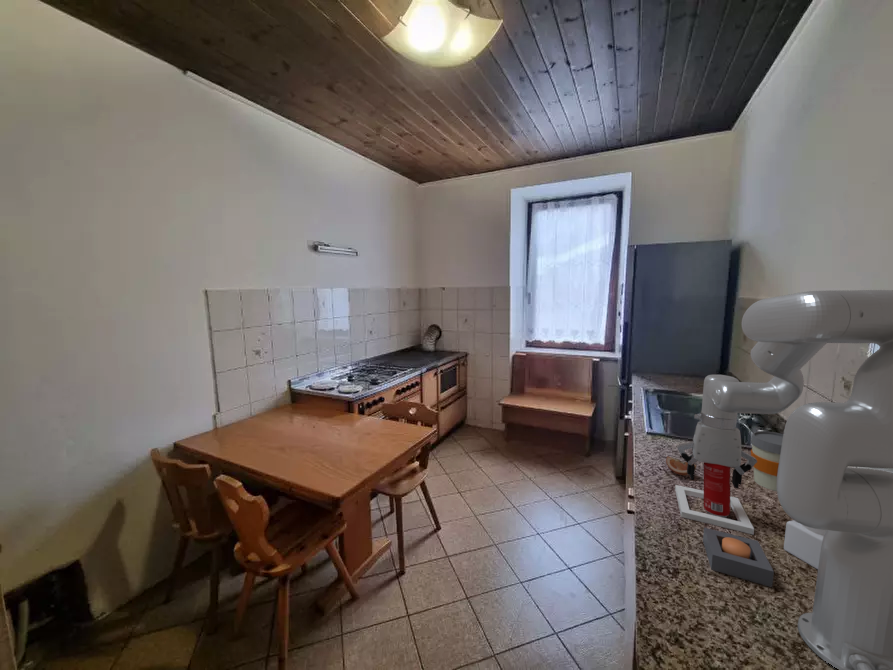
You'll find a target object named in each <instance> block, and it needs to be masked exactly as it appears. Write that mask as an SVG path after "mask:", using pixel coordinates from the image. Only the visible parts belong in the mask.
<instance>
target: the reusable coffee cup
mask: <svg viewBox="0 0 893 670" xmlns="http://www.w3.org/2000/svg"><path fill="white" fill-rule="evenodd" d="M783 434H784V433H779V432H774V431H767V430H764V431H763V430H759V431H754V432H752V433H751V439H750V444H751V447H752V448H751V449H750V455H751V456H753V457H754V458H756V460H757V463H756V464H755V465H754V466H753V467H752V469H753V480H754V482H755V483H756V484H757V485H759V486H761V487H763V488H765V489H767V490H771V491H774V492H777V486H776V483H777V473H778V466H779V460H780V453H781V447H782V440H783Z"/></svg>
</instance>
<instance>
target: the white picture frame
mask: <svg viewBox="0 0 893 670" xmlns="http://www.w3.org/2000/svg"><path fill="white" fill-rule="evenodd" d="M674 485H675V486H674V491H676V492H675V495H676V499H677V503H678V509H679V512H680V518H684V519H688V520H693V521H696V522H700V523H705V524H707V525H713V526H717V527H720V528H725V529H729V530H733V531H738V532H741V533H746V534H749V535H754V534H755V527H754V526H753V524H752V522H751V521H750V518H749V516H748V515H747V512H746V511H745V509H744V507H743V505H742V503H741V502H740V499H739V498H738V497H734V496H731V495H730V508H731V509H732V511H733V513H734V516H735V518H736V519H737V520H734V519H731V518H727V517H719V516H715V515H712V514H710V513H705V512H701V511H696V510H692V509H690V506H689V503H688V499H687V496H690V497H694V498H698V497H699V498H698V499H703V500H704V490H701V489H698V488H692V487H688V486H682V485H678V484H674Z"/></svg>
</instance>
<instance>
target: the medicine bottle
mask: <svg viewBox="0 0 893 670" xmlns="http://www.w3.org/2000/svg"><path fill="white" fill-rule="evenodd" d="M785 524H786V525H785V532H784V533H785V534H784V542H783V551H786V552H787V553H789V554H791V555H792V556H794V557H796V558H798V559H800V561H802V562H804V563H806V564H808V565H809V566H811V567H813V568H814V569H816V570H818V566H819V559H820V552H821V545H822V540H823V537H824V534H825V532H826V531H827V530H821V529H815V528H810V527H807V526H804V525H802V524H800V523H798V522H796V521H795V520H793V519H792V520H789V521H787V522H786V523H785Z"/></svg>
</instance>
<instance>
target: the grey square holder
mask: <svg viewBox="0 0 893 670" xmlns="http://www.w3.org/2000/svg"><path fill="white" fill-rule="evenodd" d="M726 537H730V538H734V539H737V540H740V541H742V542H744V543H745V544H747V545H748V546H749V547H750V549H751V551H750V559H747V558H743V557H739V556H736V555H732V554H728V553H725V552H722V540H723V538H726ZM702 542H703V545H704V550H705V552H706V557H707V561H708V565H709V566H710V570H712V571H715V572H719V573H722V574H725V575H729V576H731V577H732V576H733V577H734V578H739V579H742V580H745V581H749V582H752V583H756V584H758V585H759V584H760V585H762V586H764V587H765V586H766V587H770V588H773V582H774V574H775V573H774V572H775V571H774V569H773V567H772V566H771V564H770V562H769V559H768V558H767V555H766V554H765V552H764V550H763V548H762V545H761V544H760V542H759V541H758V540H756V539H752V538H747V537H743V536H740V535H735V534H732V533H727V532H724V531H720V530H716V529H712V528H707V527H704V528H703V536H702Z"/></svg>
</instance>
